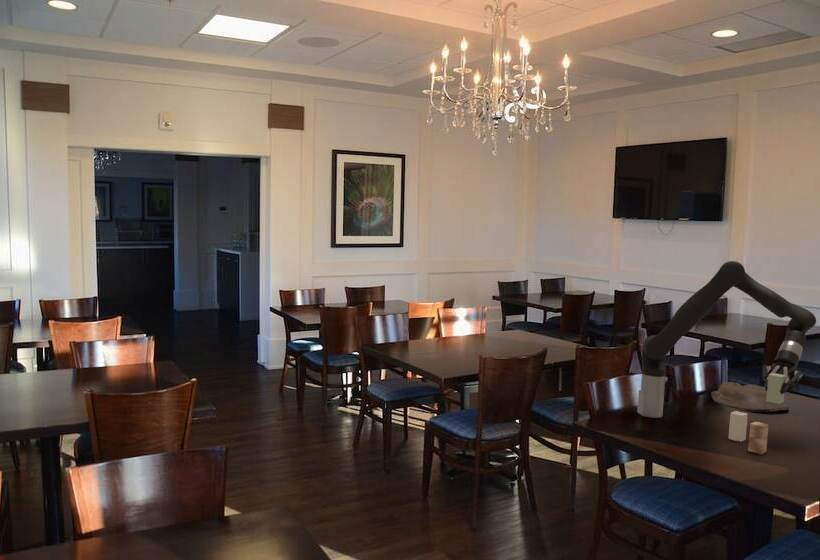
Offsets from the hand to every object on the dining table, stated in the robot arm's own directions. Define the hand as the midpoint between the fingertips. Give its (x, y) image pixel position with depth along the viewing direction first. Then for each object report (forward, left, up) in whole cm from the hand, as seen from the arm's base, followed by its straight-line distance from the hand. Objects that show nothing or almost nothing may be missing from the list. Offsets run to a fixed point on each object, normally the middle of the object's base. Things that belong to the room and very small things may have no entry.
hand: (774, 391), depth 253 cm
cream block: (-10, +5, -20) cm, 23 cm away
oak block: (-9, -8, -20) cm, 24 cm away
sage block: (+1, +1, -4) cm, 5 cm away
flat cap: (+24, +56, -21) cm, 65 cm away
